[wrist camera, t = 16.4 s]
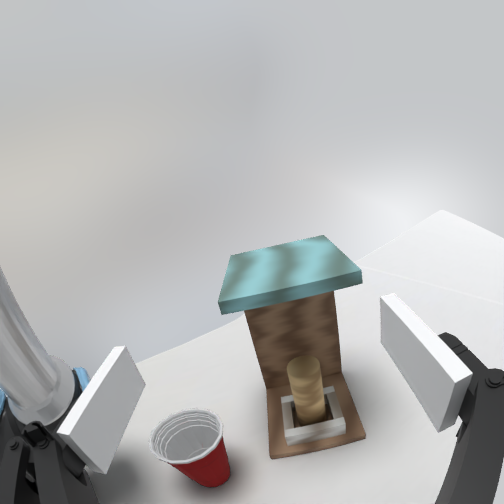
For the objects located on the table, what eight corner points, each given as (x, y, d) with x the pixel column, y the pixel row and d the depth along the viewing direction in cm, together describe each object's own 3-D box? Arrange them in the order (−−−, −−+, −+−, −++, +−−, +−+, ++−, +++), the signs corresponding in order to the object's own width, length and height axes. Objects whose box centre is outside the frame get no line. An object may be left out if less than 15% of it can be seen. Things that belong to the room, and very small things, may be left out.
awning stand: (271, 459, 35) (216, 306, 27) (267, 388, 52) (230, 255, 45) (365, 438, 34) (364, 273, 26) (340, 372, 51) (323, 235, 44)
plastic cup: (222, 439, 41) (198, 394, 38) (259, 475, 32) (239, 434, 29) (170, 467, 35) (137, 425, 32) (200, 510, 26) (164, 475, 23)
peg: (300, 433, 38) (288, 380, 34) (297, 413, 42) (285, 359, 38) (328, 426, 37) (322, 372, 34) (323, 407, 42) (316, 352, 38)
